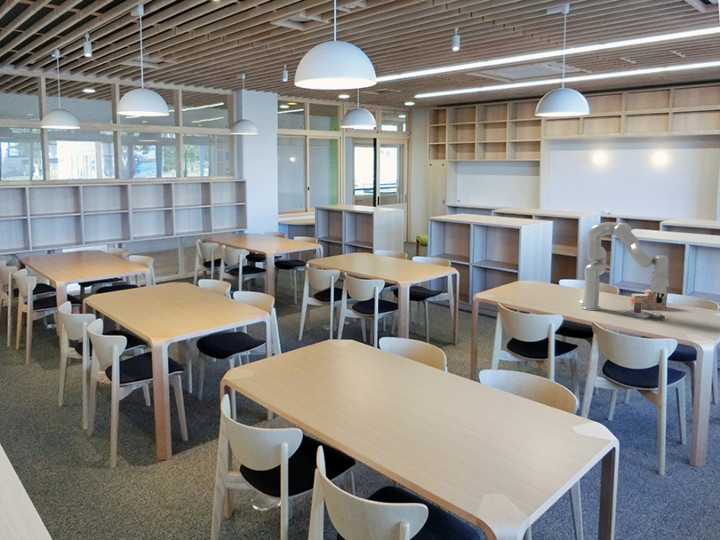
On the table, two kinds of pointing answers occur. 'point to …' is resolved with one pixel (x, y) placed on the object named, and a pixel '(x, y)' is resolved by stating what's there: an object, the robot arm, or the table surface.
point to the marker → (637, 305)
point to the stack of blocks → (649, 300)
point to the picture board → (637, 314)
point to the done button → (657, 314)
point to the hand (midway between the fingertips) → (659, 303)
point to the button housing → (656, 317)
